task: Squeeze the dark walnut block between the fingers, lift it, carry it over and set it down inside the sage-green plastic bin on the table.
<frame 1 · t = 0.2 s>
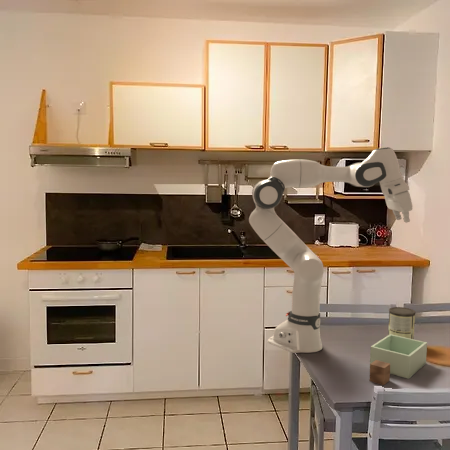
hand: (403, 220, 187), 52 cm above the table, tool tilted 20°, fingers open, 8 cm apart
block: (379, 380, 162), on the table
coffee can: (400, 343, 198), on the table
bin: (398, 365, 175), on the table
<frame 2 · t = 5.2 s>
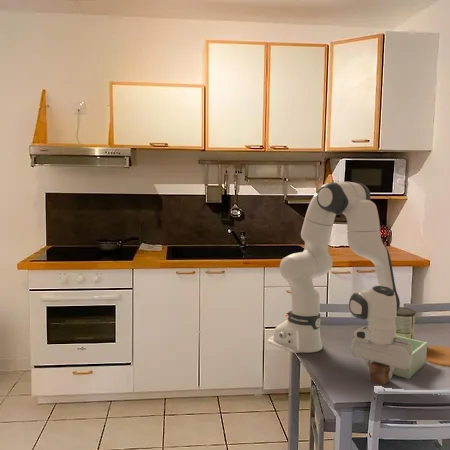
hand: (379, 374, 161), 2 cm above the table, tool pointing down, fingers closed on block, 5 cm apart
block: (379, 380, 162), on the table, touching gripper
everything else where it was.
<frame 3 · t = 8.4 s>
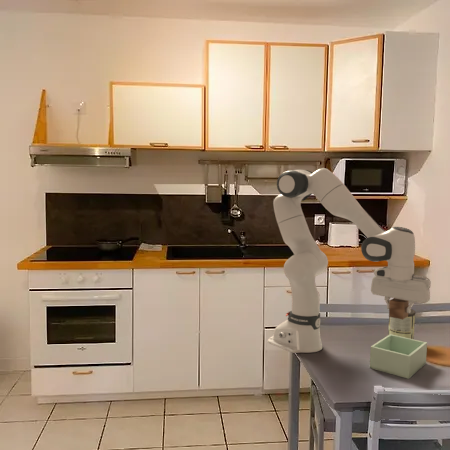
hand: (398, 310, 171), 21 cm above the table, tool pointing down, fingers closed on block, 5 cm apart
block: (398, 316, 171), point 19 cm above the table, touching gripper
everything else where it was.
when the fingers open (6 cm above the table, at t = 11.9 s): block drops 3 cm, resting on bin.
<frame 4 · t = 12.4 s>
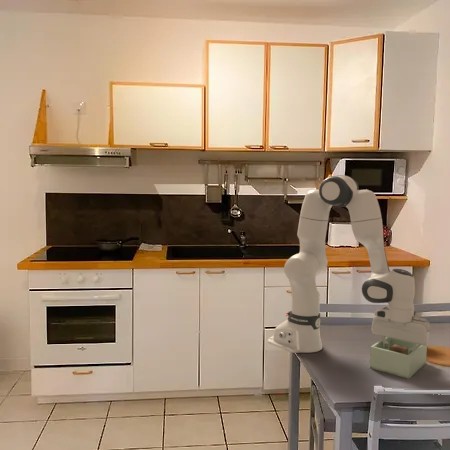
hand: (398, 350, 174), 6 cm above the table, tool pointing down, fingers open, 8 cm apart
block: (398, 363, 175), point 1 cm above the table, touching bin
everything else where it was.
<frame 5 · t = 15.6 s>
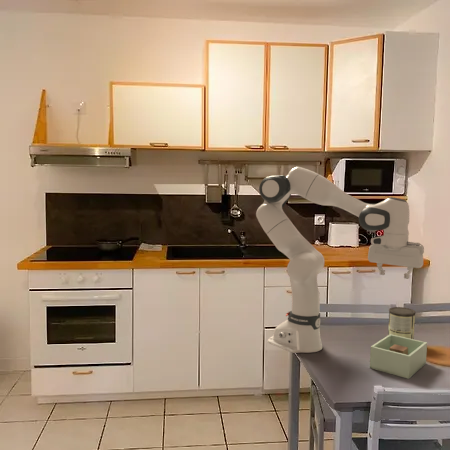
hand: (394, 276, 181), 31 cm above the table, tool pointing down, fingers open, 8 cm apart
nothing on the table moved.
at the end: block inside the target area on the bin (0.1 cm from its centre), point 0.8 cm above the bin's base; the gripper is holding nothing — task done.
